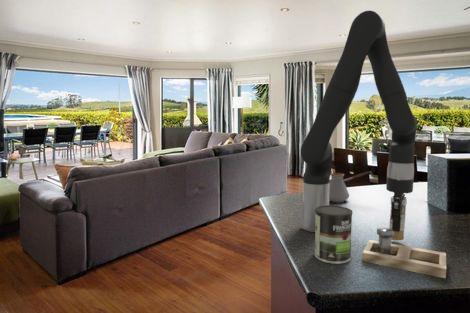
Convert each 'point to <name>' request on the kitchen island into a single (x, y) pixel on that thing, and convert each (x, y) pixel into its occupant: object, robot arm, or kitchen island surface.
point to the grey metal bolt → (385, 240)
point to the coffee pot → (340, 187)
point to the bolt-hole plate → (407, 259)
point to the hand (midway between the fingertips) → (396, 228)
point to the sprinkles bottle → (400, 234)
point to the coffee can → (333, 234)
